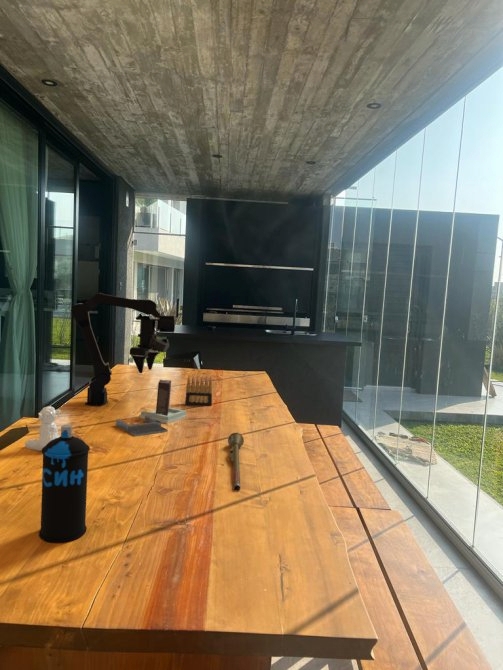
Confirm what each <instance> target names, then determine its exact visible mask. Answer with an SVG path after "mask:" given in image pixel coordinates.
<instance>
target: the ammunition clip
mask: <svg viewBox="0 0 503 670" xmlns="http://www.w3.org/2000/svg"><path fill="white" fill-rule="evenodd" d="M187 376H188V377H187V381H186V387H185V402H184V403H185V406H202V407H203V406H205V407H211V406H213V405H212V403H213V376H210V377H209V378H208V376H207V375H206V376H205V379H204V376H203V375H201V378H200V376H199V375H197V377H196V379H195V375H192V379H191V377H190V375H189V374H188V375H187Z"/></svg>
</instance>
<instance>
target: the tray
mask: <svg viewBox="0 0 503 670" xmlns="http://www.w3.org/2000/svg"><path fill="white" fill-rule="evenodd" d="M145 416H150V417H152V418H154V419H156V420H158V421H160V422H161V424H162V423H163V424H167V425H168V424H170V423H173V422H176V421H180V420H181V419H184V418H186V417H187V410H185V409H179V408H173V407H169V413H168V416H165V415H160V414H156V409H154V410H151V411H144V410H143V411H142V410H141V411H140V414H139V415H138V418H139V419H143V420H145Z"/></svg>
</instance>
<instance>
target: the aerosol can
mask: <svg viewBox="0 0 503 670" xmlns="http://www.w3.org/2000/svg"><path fill="white" fill-rule="evenodd" d="M59 436H60V437H58V438H55V439H53V440H51V441H50V442H49V443H48V444H47V445H46V446H45V447H43V448H42V451H41V454H42V472H41V473H42V475H41V476H42V477H41V478H42V479H41V480H42V481H41V506H40V508H41V509H40V513H41V514H40V529H39V531H38V536H39V538H40V539H41V540H42V541H45V542H47V543H52V544H53V543H55V544H58V543H59V544H62V543H63V544H64V543H69V542H73V541H75V540H78V539H79V538H81V537H82V536H83V535H85V534H86V532H87V525H86V521H87V520H86V516H87V513H86V512H87V491H88V489H87V488H88V466H89V464H88V463H89V452H90V449H91V447H90V446H89V445H88V444H87V443H86V441H84V440H83V439H81V438H79V437H77V436H76V437H75V436H73V425H72V424H63V425H61V426H60V435H59Z"/></svg>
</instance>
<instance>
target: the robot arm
mask: <svg viewBox="0 0 503 670" xmlns="http://www.w3.org/2000/svg"><path fill="white" fill-rule="evenodd" d="M101 304H103V305H106V306H107V305H108V306H113V307H119V308H123V309H124V308H126V309H131V310H133V311H137V312H140V313H139V314H138V315H137V316H136V317H135V319H136V321H140V323H139V324H140V326H139V333H138V334H137V337H138V338H139V344H137V346H133V347H131V348H130V349H129V355H130V357H131V358H132V360H133V362H134V364H135V365H136V368H137V370H138V373H139V374H142V373H143V371H144V366H145V361H146V365H147V368H148V370H150V371H151V370H152V368H153V366H154V363H155V361H156V357H157V356H158V355H159V354H161V353H165V352H167V351H168V348H170V343H169V339H167V338H163V339H159V338H158V334H156V330H158V332H159V333H169V334H170V333H171V334H172V333H175V331H176V330H175V329H176V327H175V326H176V323H175V316H174V315H161V314H160V312H159V311H158V309H157V307H158V306H157V303H156V302H155V301H154V300H152V299H146V298H145V299H143V298H142V299H141V298H139V299H138V298H137V299H136V298H135V299H133V298H126V297H121V296H117V295H116V296H115V295H110V294H104V293H103V292H98V293H96V294H95V295H94V296H92V297H91V298H88V299H87V300H86V301H84V302H83V303H82V302H79V303H76V304H75V305H73V306H72V308H71V312H70V313H71V315H72V317H73V319H74V321H75V322H76V323H77V326H78V327H79V328H80V330H81V333H82V336H83V339H84V342H85V345H86V348H87V351H88V353H89V356H90V360H91V362H92V368H93V375H94V376H93V377H92V378H91V379H90V380H89V383H88V387H87V396H86V397H87V398H86V402H85V403H84V404H85V405H88V406H89V405H90V406H97V407H98V406H99V407H100V406H103V405H106V404H108V392H107V387H106V385H109V383H110V382H111V379H112V378H111V377H112V375H113V372H112V370H111V368H110V363H109V362H106V363H105V361H104V360H103V357H102V354H101V352H100V349H99V346H98V343H97V340H96V338H95V334H94V332H93V328H92V325H91V318H90V311H92V310H93V309H94V308H96V307H98V306H99V305H101ZM142 314H145V315H142ZM151 316H153V317H154V318H151Z"/></svg>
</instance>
